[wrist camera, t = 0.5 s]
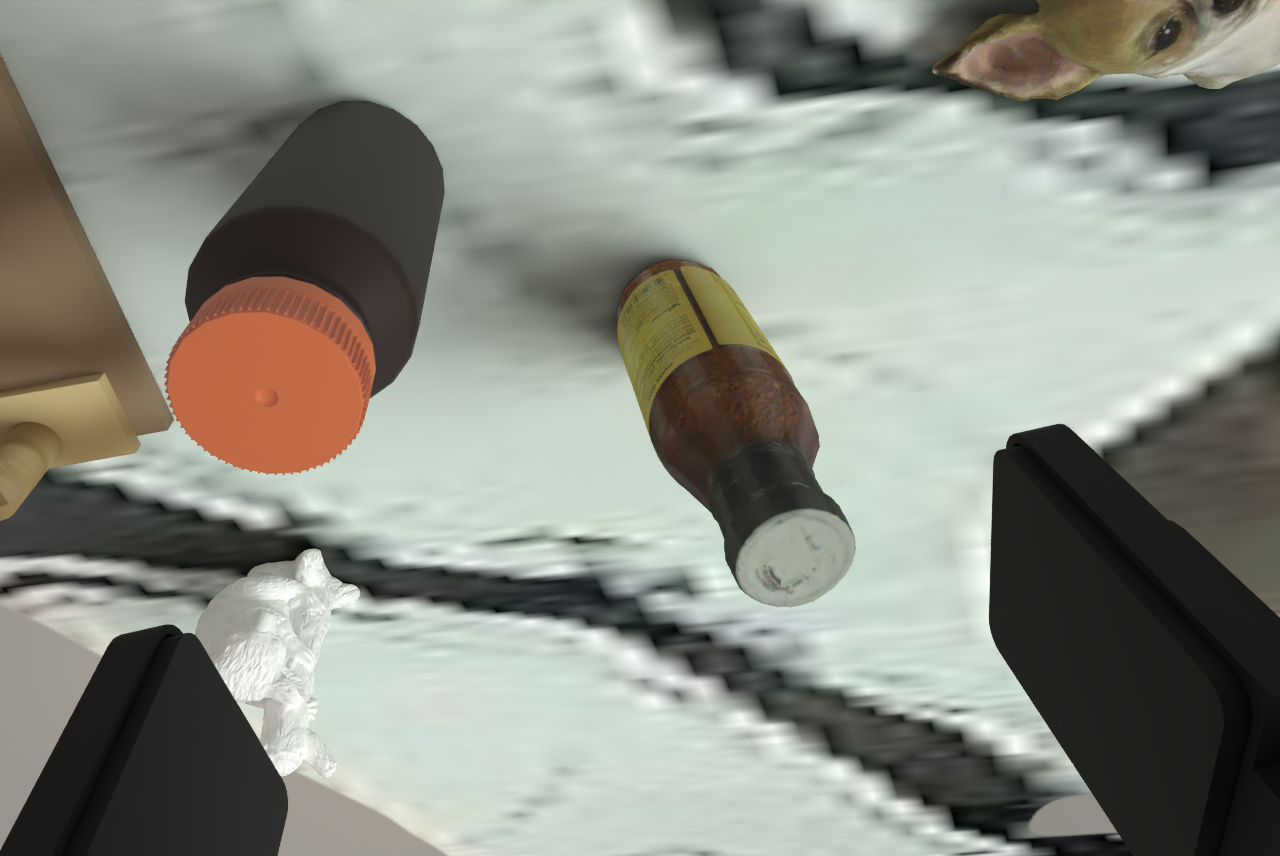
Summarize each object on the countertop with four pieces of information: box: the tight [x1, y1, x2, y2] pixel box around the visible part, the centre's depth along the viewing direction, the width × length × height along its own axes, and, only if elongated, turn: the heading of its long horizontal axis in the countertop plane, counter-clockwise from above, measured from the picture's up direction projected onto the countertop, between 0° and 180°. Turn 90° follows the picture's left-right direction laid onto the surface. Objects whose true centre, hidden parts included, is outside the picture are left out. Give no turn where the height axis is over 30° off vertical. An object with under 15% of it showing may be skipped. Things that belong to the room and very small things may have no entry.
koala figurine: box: [195, 548, 360, 778], centre depth 46 cm, size 8×7×12 cm
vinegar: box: [164, 101, 444, 475], centre depth 32 cm, size 7×7×20 cm
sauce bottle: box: [616, 260, 856, 607], centre depth 37 cm, size 7×6×20 cm
